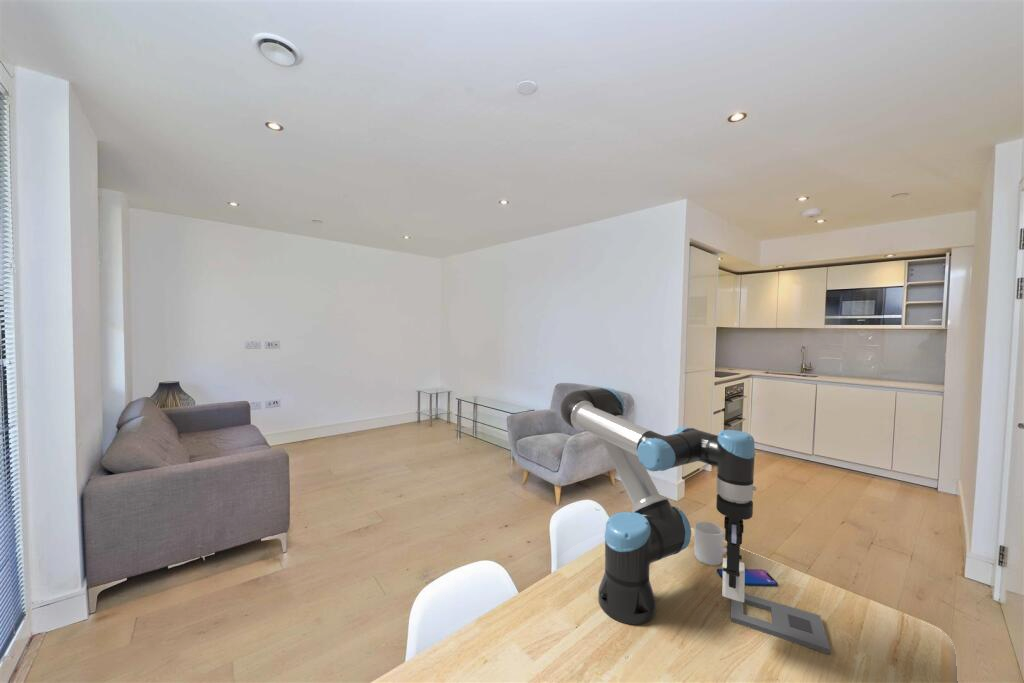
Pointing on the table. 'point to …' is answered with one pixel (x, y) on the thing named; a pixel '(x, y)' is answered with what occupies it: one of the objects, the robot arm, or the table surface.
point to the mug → (709, 543)
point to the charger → (741, 580)
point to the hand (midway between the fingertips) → (731, 591)
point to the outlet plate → (783, 622)
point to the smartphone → (755, 578)
